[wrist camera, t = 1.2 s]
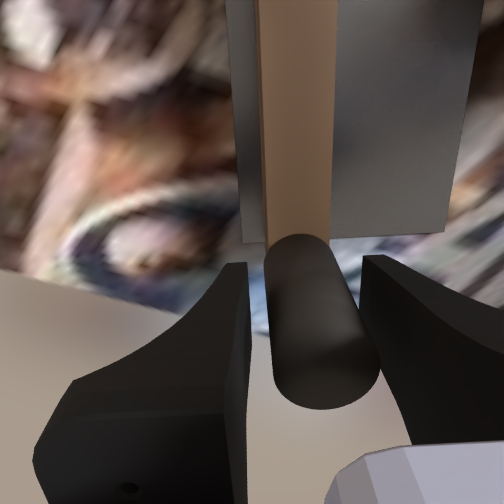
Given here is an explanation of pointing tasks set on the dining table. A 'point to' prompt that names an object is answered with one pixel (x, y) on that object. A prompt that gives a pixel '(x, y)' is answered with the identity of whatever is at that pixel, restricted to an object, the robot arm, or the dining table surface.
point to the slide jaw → (305, 211)
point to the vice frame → (373, 113)
